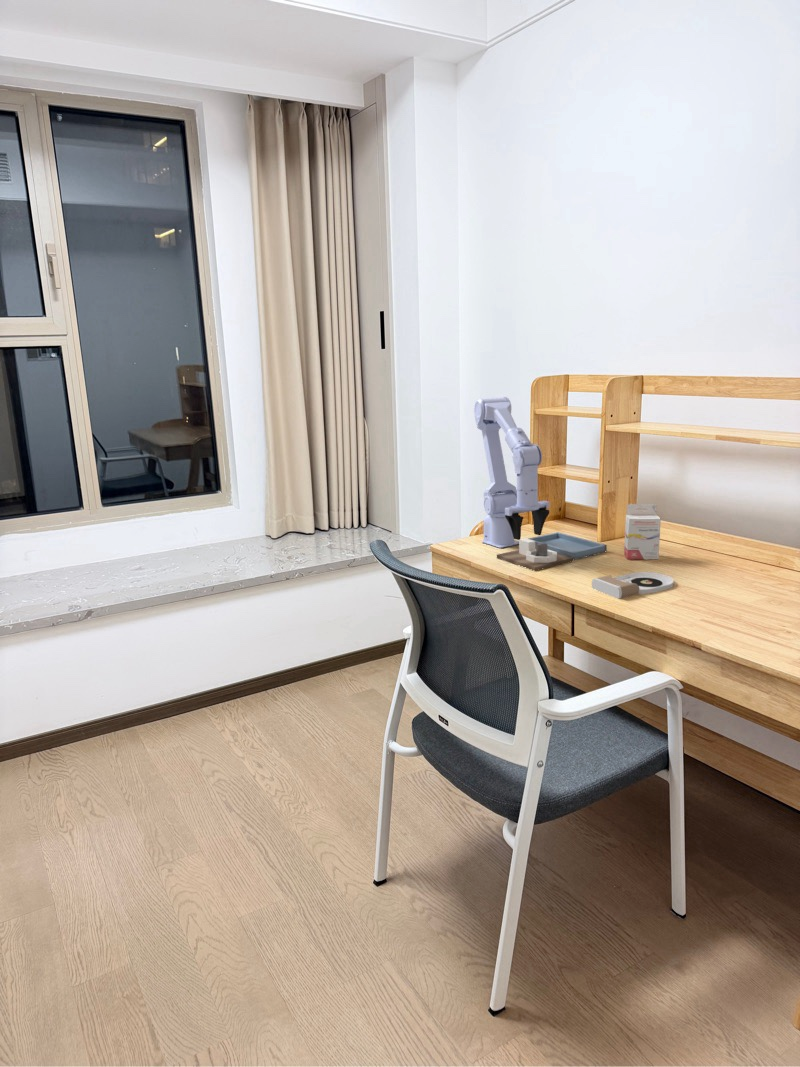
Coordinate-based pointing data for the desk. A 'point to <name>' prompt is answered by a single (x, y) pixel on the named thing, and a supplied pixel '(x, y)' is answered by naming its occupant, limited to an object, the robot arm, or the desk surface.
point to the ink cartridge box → (642, 532)
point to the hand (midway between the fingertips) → (527, 536)
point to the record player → (632, 584)
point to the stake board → (532, 565)
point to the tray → (570, 545)
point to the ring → (529, 550)
